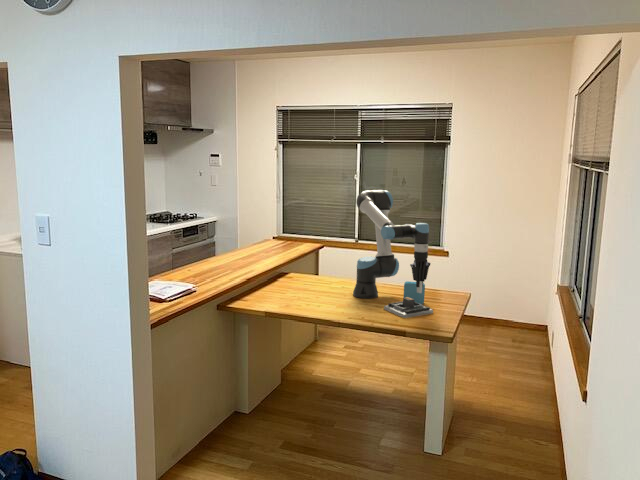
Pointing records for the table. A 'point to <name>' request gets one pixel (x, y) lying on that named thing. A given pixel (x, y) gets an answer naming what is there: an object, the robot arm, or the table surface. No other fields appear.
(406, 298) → the breaker toggle
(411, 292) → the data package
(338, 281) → the table surface
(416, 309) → the breaker panel
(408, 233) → the robot arm
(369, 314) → the table surface
